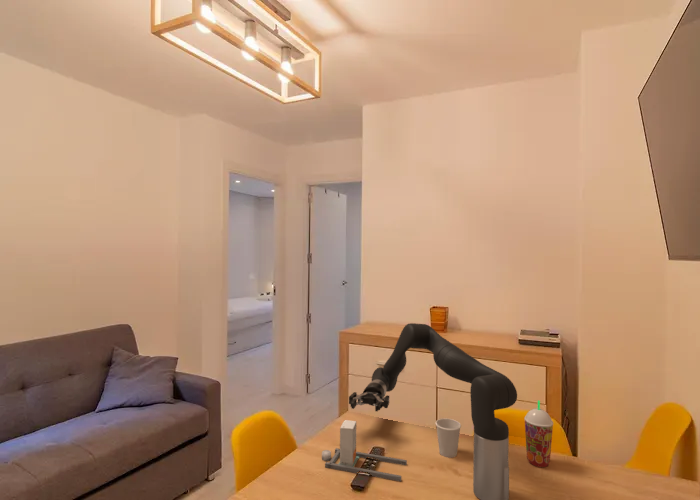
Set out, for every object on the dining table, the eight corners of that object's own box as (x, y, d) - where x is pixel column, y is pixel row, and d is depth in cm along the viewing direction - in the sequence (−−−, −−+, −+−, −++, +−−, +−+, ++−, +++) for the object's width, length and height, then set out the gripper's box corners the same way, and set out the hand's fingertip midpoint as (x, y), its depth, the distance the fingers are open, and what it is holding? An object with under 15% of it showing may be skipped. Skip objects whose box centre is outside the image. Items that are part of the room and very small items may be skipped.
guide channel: (406, 463, 127) (406, 457, 127) (400, 481, 118) (400, 474, 118) (327, 450, 136) (327, 444, 136) (316, 465, 126) (316, 459, 126)
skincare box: (352, 467, 125) (352, 429, 125) (339, 465, 126) (339, 427, 126) (356, 457, 131) (356, 420, 131) (343, 455, 132) (344, 419, 131)
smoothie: (518, 459, 130) (518, 398, 130) (536, 453, 134) (537, 394, 134) (540, 472, 123) (540, 407, 122) (558, 466, 126) (559, 403, 126)
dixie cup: (460, 448, 137) (460, 419, 137) (461, 461, 129) (461, 430, 129) (435, 445, 139) (435, 416, 139) (434, 457, 131) (434, 427, 131)
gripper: (357, 380, 156) (344, 394, 141) (393, 383, 152) (384, 398, 136) (357, 399, 156) (344, 415, 140) (393, 403, 152) (384, 420, 136)
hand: (364, 407), depth 138 cm, fingers open, 8 cm apart
